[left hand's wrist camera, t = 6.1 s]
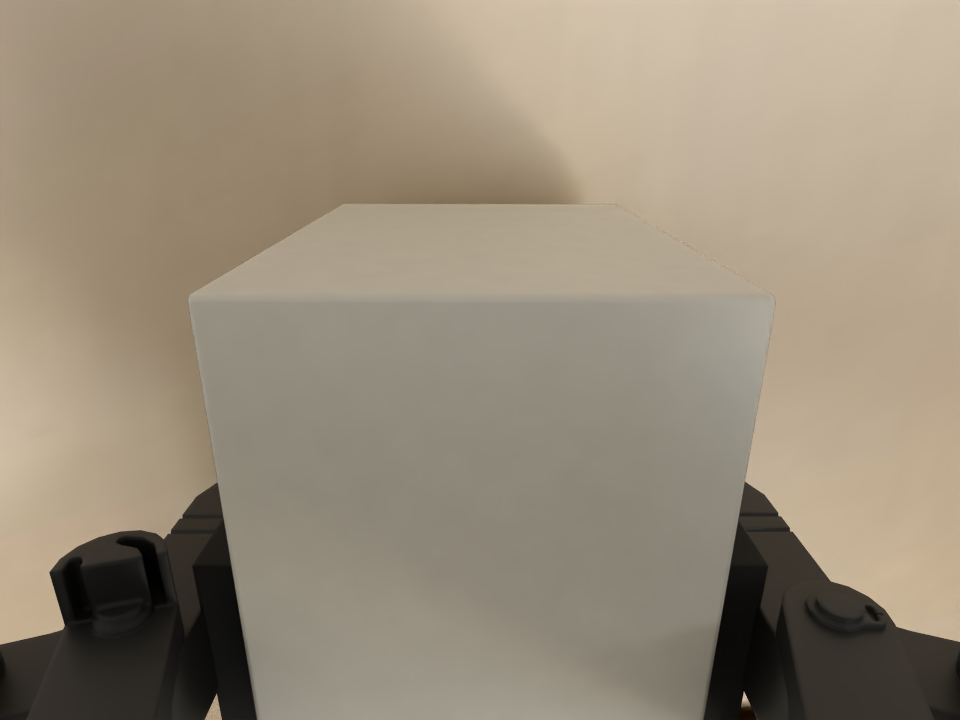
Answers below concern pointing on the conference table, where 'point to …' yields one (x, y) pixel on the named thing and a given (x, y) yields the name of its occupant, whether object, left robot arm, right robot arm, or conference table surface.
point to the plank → (480, 461)
